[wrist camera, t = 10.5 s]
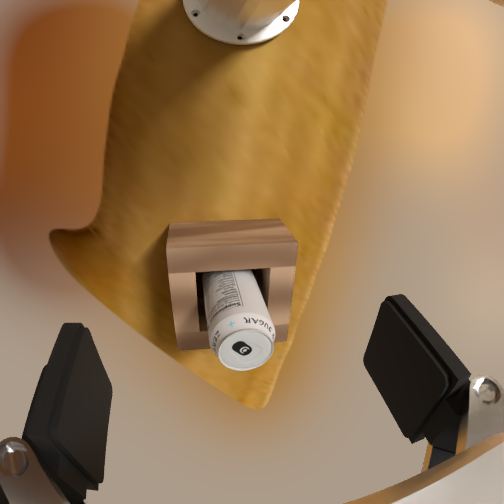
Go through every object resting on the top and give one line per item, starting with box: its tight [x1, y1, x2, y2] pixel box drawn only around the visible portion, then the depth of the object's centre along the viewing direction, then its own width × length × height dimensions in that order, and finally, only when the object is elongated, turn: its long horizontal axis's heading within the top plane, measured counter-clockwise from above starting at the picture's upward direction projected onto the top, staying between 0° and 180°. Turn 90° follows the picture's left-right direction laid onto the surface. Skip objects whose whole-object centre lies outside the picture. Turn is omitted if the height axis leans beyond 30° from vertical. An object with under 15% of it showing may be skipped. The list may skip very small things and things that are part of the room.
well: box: [166, 219, 298, 350], centre depth 36 cm, size 13×13×7 cm
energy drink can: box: [202, 269, 275, 371], centre depth 33 cm, size 6×6×15 cm
